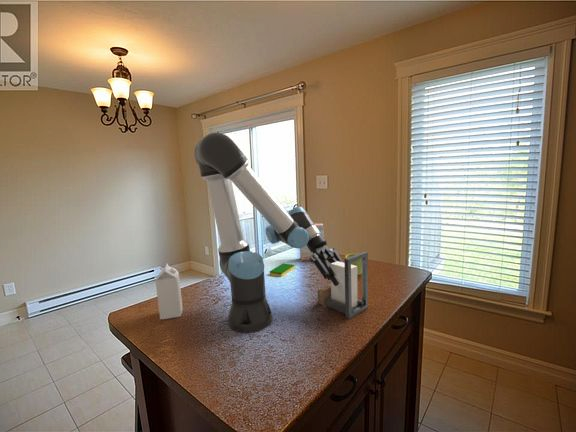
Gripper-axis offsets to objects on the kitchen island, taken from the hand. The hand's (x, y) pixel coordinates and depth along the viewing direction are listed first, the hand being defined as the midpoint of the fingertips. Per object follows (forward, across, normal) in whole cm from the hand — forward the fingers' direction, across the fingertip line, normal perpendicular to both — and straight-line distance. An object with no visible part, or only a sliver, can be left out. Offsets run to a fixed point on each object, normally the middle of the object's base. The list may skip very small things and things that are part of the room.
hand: (347, 290), depth 103 cm
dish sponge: (-29, -10, -40) cm, 50 cm away
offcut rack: (+4, +1, -5) cm, 7 cm away
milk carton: (-26, +48, -37) cm, 67 cm away
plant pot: (-9, -32, -18) cm, 37 cm away
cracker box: (-31, -34, -41) cm, 62 cm away
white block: (+3, 0, -5) cm, 6 cm away
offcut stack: (-2, 0, -12) cm, 12 cm away
